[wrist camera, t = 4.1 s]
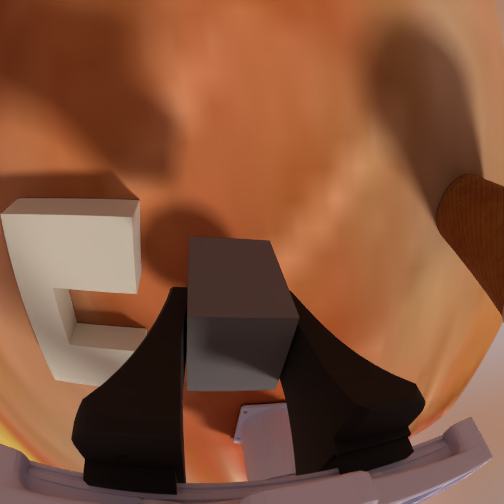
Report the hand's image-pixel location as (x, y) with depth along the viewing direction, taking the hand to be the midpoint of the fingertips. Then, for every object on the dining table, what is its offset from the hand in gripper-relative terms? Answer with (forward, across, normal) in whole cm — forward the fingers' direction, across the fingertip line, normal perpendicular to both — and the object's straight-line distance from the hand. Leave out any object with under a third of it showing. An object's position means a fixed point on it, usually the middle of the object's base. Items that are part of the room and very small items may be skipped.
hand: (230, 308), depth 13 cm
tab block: (+2, 0, 0) cm, 2 cm away
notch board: (+8, +10, +7) cm, 14 cm away
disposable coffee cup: (+9, -20, -3) cm, 22 cm away
